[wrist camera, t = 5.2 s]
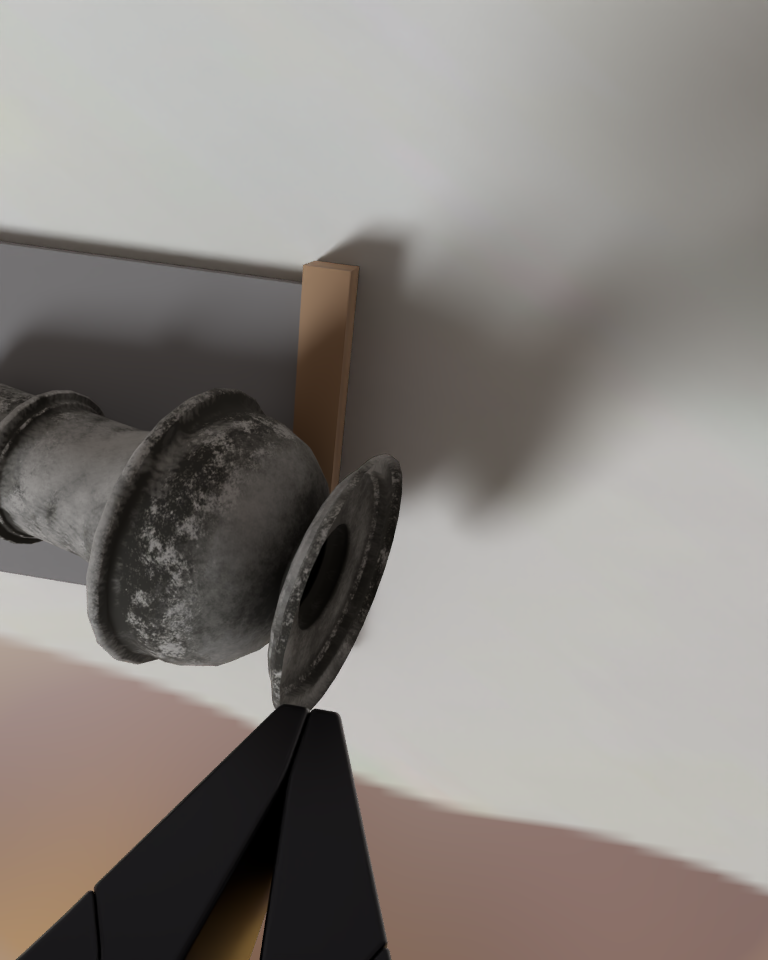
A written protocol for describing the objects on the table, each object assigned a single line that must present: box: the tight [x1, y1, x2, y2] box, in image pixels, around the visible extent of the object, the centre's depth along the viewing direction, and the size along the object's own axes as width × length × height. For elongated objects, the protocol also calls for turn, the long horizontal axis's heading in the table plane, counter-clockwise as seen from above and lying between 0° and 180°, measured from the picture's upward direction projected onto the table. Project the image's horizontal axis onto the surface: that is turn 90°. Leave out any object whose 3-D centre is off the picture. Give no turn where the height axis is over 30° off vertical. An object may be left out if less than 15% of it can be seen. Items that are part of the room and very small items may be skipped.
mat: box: [0, 241, 302, 585], centre depth 16 cm, size 11×9×1 cm
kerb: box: [293, 261, 359, 494], centre depth 16 cm, size 1×11×1 cm, turn 173°
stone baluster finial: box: [0, 383, 402, 710], centre depth 14 cm, size 6×6×12 cm
